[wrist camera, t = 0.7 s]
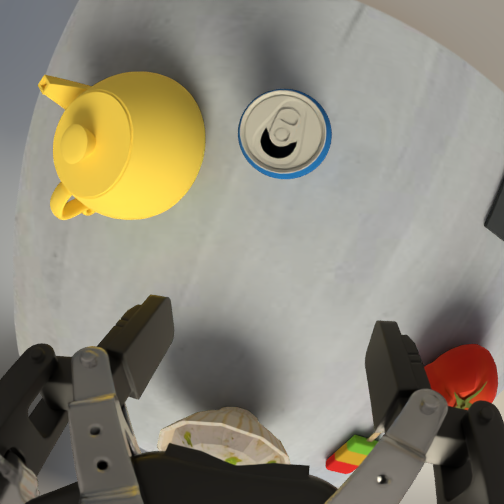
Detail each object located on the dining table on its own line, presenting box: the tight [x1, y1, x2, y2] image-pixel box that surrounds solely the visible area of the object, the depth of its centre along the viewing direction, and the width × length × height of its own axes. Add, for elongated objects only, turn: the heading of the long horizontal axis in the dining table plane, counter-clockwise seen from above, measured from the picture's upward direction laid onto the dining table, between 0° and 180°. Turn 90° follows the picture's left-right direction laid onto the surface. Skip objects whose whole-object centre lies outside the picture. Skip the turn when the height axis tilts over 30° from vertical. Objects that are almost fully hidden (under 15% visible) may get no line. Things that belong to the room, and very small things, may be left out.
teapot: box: [38, 72, 205, 220], centre depth 27 cm, size 20×19×13 cm
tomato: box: [424, 344, 498, 410], centre depth 29 cm, size 13×12×8 cm
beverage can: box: [238, 89, 332, 179], centre depth 24 cm, size 6×6×12 cm
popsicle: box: [326, 432, 381, 474], centre depth 39 cm, size 6×15×2 cm, turn 156°
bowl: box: [157, 407, 290, 465], centre depth 37 cm, size 19×19×10 cm
